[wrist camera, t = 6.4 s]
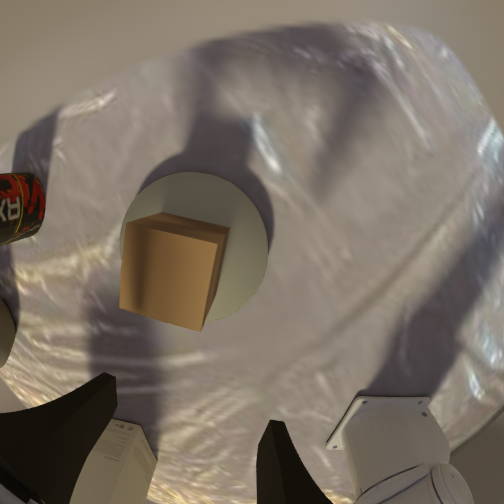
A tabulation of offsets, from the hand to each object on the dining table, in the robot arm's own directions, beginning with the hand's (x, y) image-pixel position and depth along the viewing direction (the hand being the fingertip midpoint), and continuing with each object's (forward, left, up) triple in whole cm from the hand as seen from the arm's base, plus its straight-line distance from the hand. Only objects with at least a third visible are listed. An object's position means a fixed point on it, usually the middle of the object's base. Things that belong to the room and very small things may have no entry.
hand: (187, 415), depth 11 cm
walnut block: (+3, -5, -8) cm, 10 cm away
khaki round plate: (+3, -5, -10) cm, 12 cm away
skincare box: (+8, +20, -10) cm, 24 cm away
